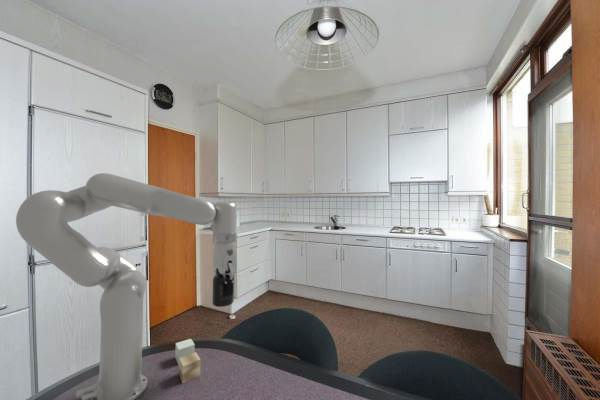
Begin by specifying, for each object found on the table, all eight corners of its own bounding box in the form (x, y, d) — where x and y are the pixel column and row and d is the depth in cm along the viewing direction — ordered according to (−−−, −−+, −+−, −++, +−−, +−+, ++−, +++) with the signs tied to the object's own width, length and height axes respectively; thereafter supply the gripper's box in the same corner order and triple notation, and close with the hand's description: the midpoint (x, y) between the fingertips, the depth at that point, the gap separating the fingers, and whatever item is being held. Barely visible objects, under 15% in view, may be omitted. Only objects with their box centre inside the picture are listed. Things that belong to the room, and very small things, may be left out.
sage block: (178, 365, 80) (178, 349, 80) (175, 358, 84) (175, 343, 84) (194, 359, 83) (194, 344, 83) (190, 352, 87) (190, 338, 87)
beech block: (182, 383, 71) (183, 365, 72) (178, 374, 75) (179, 357, 75) (200, 376, 74) (200, 359, 75) (195, 368, 78) (196, 352, 79)
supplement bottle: (236, 300, 84) (237, 265, 85) (228, 308, 77) (229, 270, 78) (218, 299, 85) (219, 264, 86) (208, 306, 78) (209, 269, 79)
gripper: (246, 240, 78) (245, 297, 77) (225, 236, 91) (224, 284, 90) (223, 242, 73) (221, 302, 72) (204, 237, 87) (203, 287, 86)
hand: (223, 291), depth 81 cm, fingers closed on supplement bottle, 6 cm apart
